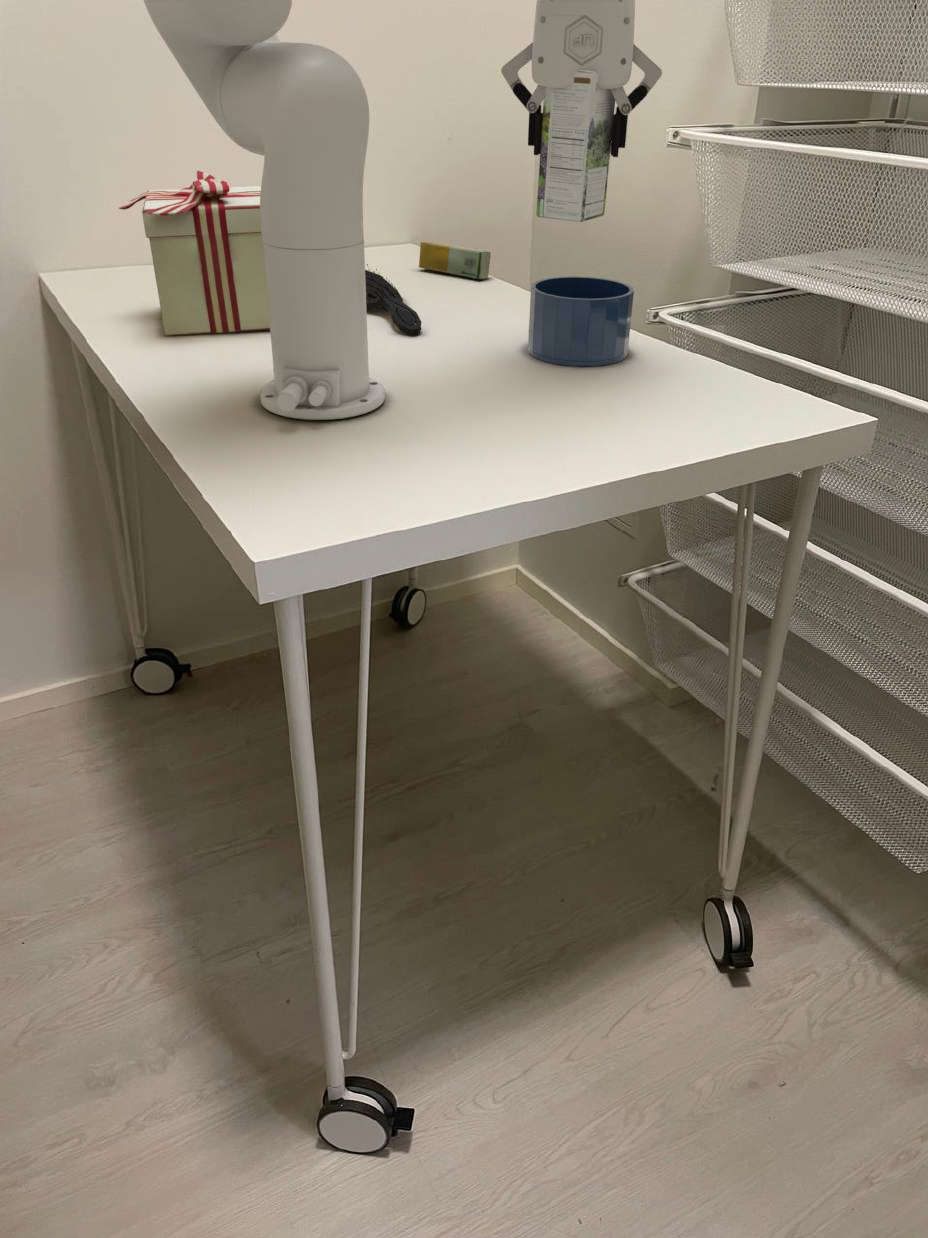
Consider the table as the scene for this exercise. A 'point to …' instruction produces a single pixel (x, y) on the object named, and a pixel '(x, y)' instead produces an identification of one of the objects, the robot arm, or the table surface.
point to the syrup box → (575, 150)
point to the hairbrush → (390, 303)
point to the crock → (580, 320)
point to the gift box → (207, 256)
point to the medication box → (454, 260)
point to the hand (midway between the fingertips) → (575, 153)
